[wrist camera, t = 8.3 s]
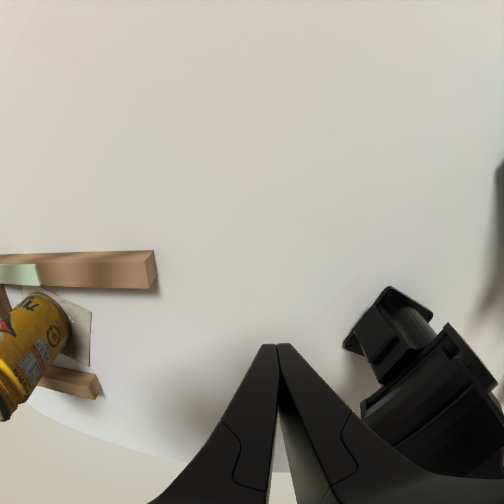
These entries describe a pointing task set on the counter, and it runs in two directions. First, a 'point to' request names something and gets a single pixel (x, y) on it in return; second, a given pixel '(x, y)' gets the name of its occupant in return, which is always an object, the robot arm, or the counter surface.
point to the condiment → (38, 343)
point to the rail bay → (76, 275)
